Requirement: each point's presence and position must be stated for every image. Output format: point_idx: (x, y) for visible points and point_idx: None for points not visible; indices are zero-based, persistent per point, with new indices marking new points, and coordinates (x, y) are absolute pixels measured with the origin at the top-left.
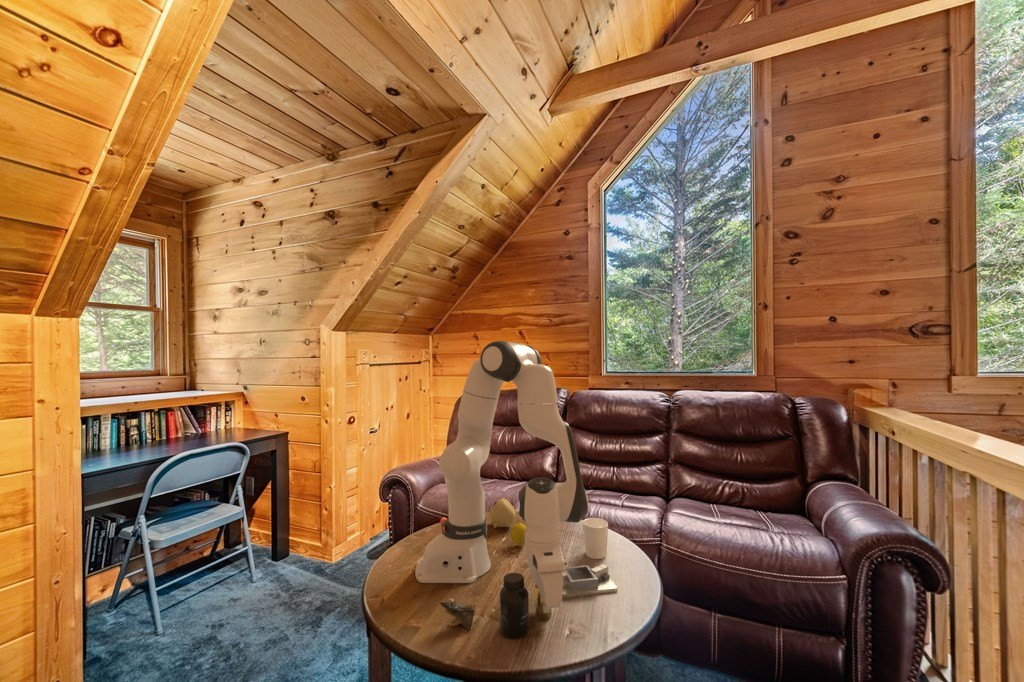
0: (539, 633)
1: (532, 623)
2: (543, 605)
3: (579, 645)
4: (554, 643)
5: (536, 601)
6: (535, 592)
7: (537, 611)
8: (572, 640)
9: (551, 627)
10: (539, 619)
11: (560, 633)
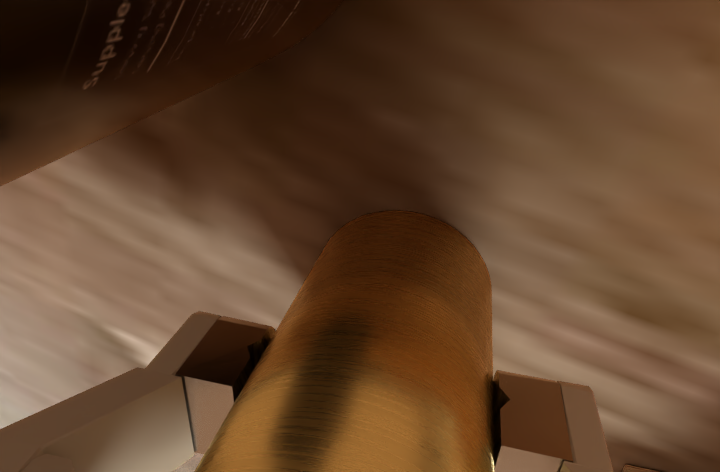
0: (138, 152)
1: (296, 137)
2: (129, 374)
3: (26, 361)
4: (24, 225)
5: (319, 330)
6: (308, 442)
7: (341, 257)
8: (68, 347)
9: (213, 282)
10: (341, 230)
11: (138, 312)
